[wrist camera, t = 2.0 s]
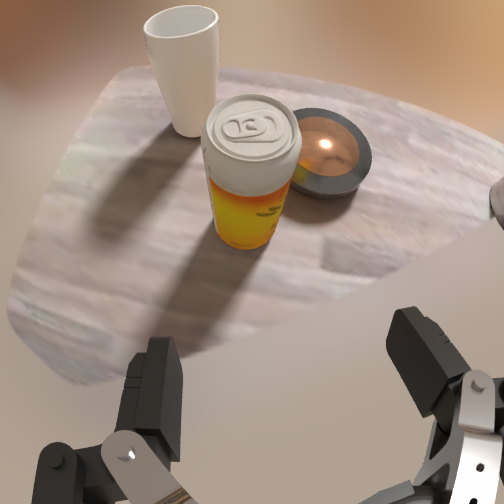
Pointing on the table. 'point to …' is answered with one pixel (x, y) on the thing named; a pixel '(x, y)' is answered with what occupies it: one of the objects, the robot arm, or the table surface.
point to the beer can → (249, 166)
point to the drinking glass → (185, 63)
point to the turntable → (329, 155)
